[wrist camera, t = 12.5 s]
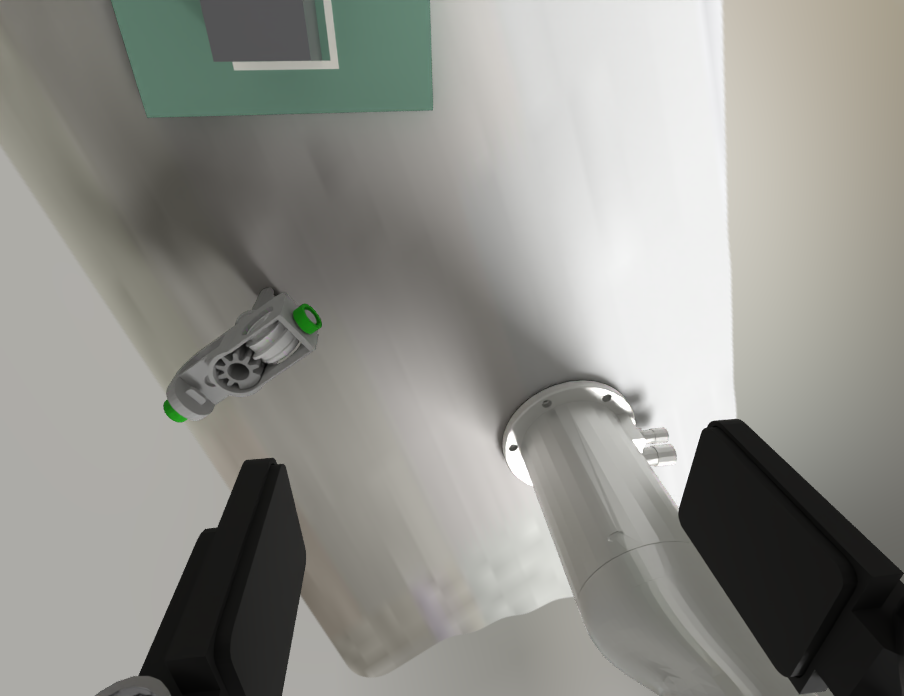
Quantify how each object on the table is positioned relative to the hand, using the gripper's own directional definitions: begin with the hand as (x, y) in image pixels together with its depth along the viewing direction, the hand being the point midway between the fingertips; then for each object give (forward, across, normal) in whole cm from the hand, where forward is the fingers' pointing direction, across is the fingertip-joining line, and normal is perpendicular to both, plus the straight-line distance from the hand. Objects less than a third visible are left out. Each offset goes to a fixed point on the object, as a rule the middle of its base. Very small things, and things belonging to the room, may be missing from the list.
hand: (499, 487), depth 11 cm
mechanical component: (+26, +12, +5) cm, 29 cm away
